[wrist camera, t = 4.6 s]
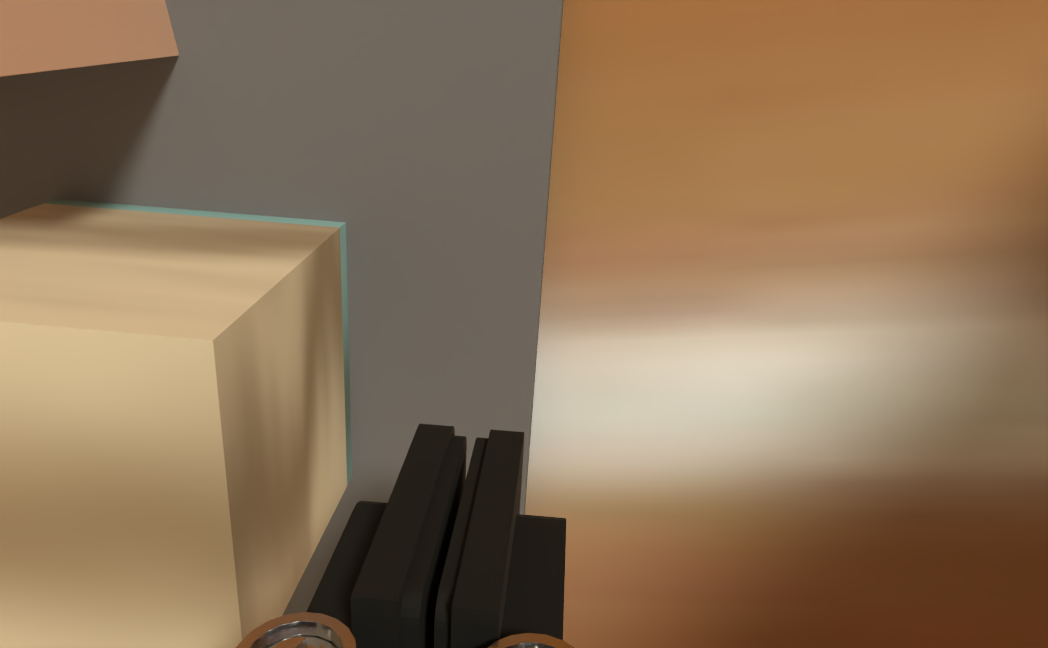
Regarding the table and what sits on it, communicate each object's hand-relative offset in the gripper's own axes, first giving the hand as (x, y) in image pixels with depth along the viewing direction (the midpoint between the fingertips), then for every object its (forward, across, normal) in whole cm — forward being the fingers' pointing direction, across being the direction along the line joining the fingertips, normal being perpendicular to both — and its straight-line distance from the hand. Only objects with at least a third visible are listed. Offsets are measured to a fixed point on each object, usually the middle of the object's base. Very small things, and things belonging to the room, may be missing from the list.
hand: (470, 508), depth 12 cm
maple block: (+5, +6, 0) cm, 8 cm away
